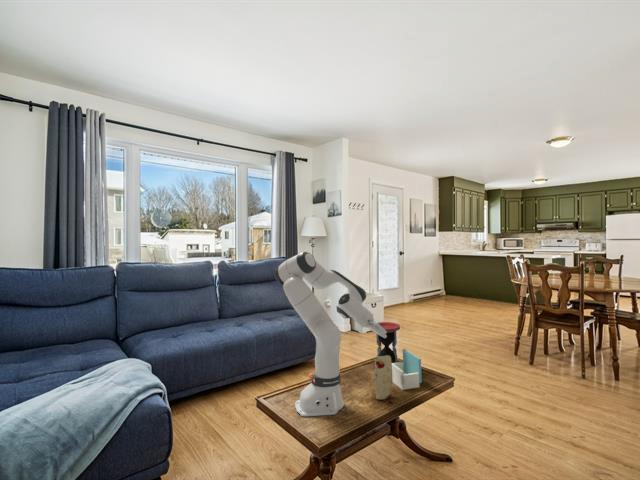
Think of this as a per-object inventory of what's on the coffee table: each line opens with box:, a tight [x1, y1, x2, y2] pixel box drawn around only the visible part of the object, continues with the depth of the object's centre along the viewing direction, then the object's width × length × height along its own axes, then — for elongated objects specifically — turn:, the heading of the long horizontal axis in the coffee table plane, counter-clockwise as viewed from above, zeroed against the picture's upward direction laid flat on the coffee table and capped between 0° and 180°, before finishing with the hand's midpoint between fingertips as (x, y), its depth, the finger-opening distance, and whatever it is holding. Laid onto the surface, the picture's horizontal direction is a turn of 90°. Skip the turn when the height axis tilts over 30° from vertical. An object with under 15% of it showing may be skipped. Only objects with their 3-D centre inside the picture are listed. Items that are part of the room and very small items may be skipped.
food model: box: [373, 355, 393, 400], centre depth 157 cm, size 10×7×20 cm
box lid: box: [402, 348, 423, 384], centre depth 175 cm, size 2×17×12 cm, turn 14°
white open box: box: [392, 361, 420, 391], centre depth 174 cm, size 10×17×9 cm, turn 15°
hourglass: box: [373, 321, 401, 370], centre depth 194 cm, size 16×16×25 cm
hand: (383, 335), depth 171 cm, fingers open, 4 cm apart
